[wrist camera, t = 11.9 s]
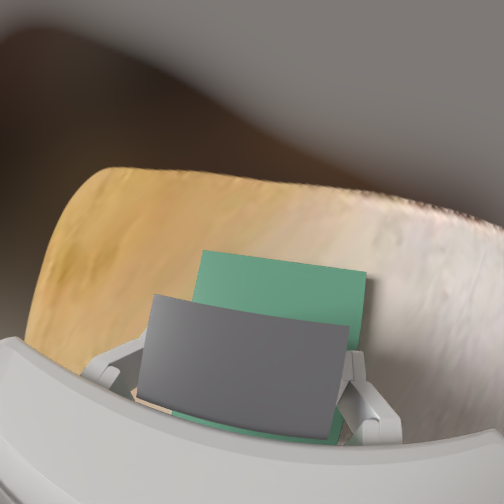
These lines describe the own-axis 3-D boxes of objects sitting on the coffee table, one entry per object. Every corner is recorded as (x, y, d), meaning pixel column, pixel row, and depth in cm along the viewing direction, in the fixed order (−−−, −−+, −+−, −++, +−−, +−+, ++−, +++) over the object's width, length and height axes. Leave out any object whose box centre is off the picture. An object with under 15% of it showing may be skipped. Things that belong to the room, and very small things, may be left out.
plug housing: (306, 389, 14) (327, 440, 6) (208, 371, 15) (136, 397, 7) (316, 332, 15) (349, 326, 7) (218, 316, 16) (154, 293, 8)
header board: (332, 441, 16) (342, 464, 12) (178, 413, 18) (154, 427, 14) (361, 276, 20) (378, 261, 16) (208, 255, 22) (191, 236, 18)
